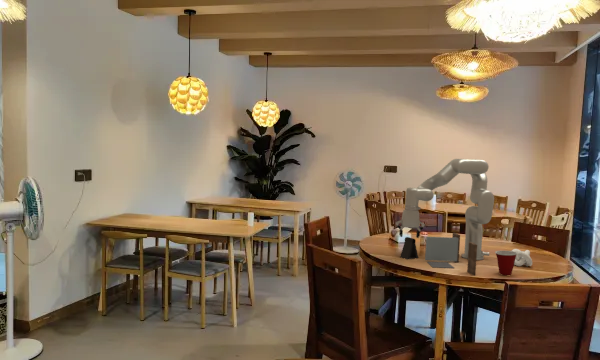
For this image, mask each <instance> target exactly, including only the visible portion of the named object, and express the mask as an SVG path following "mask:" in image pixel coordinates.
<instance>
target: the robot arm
mask: <svg viewBox="0 0 600 360" xmlns="http://www.w3.org/2000/svg"><path fill="white" fill-rule="evenodd" d="M489 167H490V166H489V163H488V162H487V161H486V160H484V159H477V158H475V159H473V158H472V159H467V158H454V159H452V160H450V161H449V162H448V163H447V164H446V165H445V166H444V167H443V168H441V169H440V170H439V171H438V172H437V173H435V174H434V175H432V176H431V177H428V178H427V179H425V180H424V181H423V182H422V183H421V184H420V185H418V186H417V187H408V188H407V187H406V191H405V203H404V204H405V205H404V206H405V207H404V209H403V211H402V214H401V219H400V220H398V221H396V222H395V224H396V227H397V228H398V229H399V237H401V238H402V237H403V233H404V230H403V229H404V228H410V229H416V230H417V231H416V234H415V235H416V236H415V237H416V239H419V238H420V235H421V231H422V230H423V229H424V228H425V226H426V224H425V223H424V222H422V221H421V220H420V212H419V210H421V207H420V206H419V201H421V202H429V201H432V200H433V199H434V195H435V194H434V191H433V190H435V189H437V188H439V187H442V186H446V185H448V184H449V183H450V182H451V181H452V180H453V179H454V178H456V177H457V176H458V175H459V174H463V175H464V174H465V175H470V177H471V181H472V182H471V189H470V195H469V198H470V201H471V203H473V204H475V205H471V206H469V207H468V208H466V209H465V213H464V215H465V217H464V218H465V235H464V236H465V239H464V253H462V254H461V257H462V258H463V259H466V260H468V250H469V242H473V243H475V244H477V258H476V261H480V260H484V259H485V258H484V256H487V257H488V256H490V252H486V251H483V250H482V245H483V232H484V231H483V225H487V224H488V223H489V222H490V221H491V219H492V218H493V217H492V216H493V211H494V206H495V205H494V203H495V196H494V194H493V192H492V191H491V190H489V189H488V176H487V172H488V170H489ZM476 205H477V206H476ZM399 224H400V225H399ZM420 225H421V226H420Z"/></svg>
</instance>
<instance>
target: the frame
mask: <svg viewBox="0 0 600 360" xmlns="http://www.w3.org/2000/svg"><path fill="white" fill-rule="evenodd" d="M451 238H458V253H457V261H453V263H459V261H460V245H461V244H460V243H461V234H459V233H457V232H452V237H451ZM476 258H477V244H475V243H473V242H469V250H468V259H467V270H466V272H467V273H469V274H470V275H471V276H476V272H477V270H476V269H477V260H476Z"/></svg>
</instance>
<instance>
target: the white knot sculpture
mask: <svg viewBox="0 0 600 360" xmlns="http://www.w3.org/2000/svg"><path fill="white" fill-rule="evenodd" d="M511 251H514V252H517V255H516V259H515V262H514V266H515V265H516V266H515V267H522V266H523V265H524V266H526V267H528V266H530V267H531V266H533V259H532V258H531V256H530V255H531V251H530V250H529V249H526V250H524V251H522V250H520V249H518V248H513V249H512V250H511Z"/></svg>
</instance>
